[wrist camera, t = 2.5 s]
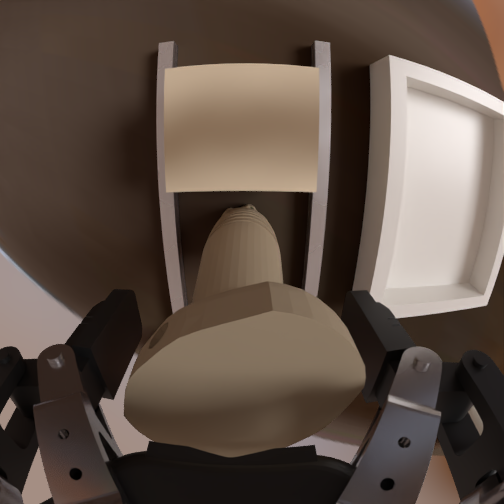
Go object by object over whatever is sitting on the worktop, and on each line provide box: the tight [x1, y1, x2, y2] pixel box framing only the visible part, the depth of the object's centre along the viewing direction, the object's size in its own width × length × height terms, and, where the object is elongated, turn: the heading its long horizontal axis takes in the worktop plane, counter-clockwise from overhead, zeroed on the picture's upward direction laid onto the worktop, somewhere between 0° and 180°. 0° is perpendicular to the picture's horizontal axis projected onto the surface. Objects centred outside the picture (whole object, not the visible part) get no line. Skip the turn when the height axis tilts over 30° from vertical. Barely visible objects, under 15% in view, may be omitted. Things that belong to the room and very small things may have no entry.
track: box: [156, 41, 331, 314], centre depth 17 cm, size 24×11×5 cm, turn 0°
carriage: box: [164, 64, 319, 192], centre depth 14 cm, size 6×7×6 cm
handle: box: [124, 204, 366, 457], centre depth 13 cm, size 5×6×15 cm
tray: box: [352, 55, 504, 318], centre depth 17 cm, size 18×14×3 cm
